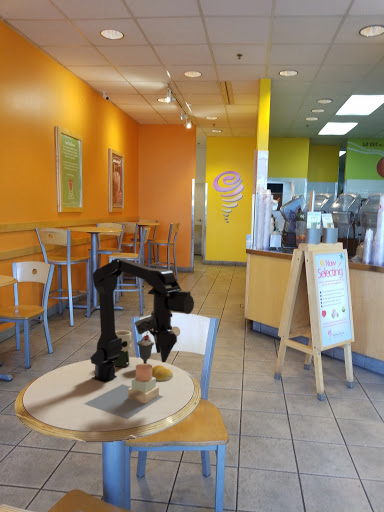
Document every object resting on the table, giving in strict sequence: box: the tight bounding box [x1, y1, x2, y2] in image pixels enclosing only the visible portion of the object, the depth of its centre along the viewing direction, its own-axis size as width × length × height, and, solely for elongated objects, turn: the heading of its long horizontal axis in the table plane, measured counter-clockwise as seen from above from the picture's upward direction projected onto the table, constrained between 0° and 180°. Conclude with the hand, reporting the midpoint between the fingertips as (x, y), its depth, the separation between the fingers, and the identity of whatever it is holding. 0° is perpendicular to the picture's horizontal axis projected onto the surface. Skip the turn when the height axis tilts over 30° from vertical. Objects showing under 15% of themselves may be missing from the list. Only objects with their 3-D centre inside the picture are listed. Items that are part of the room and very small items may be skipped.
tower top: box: [131, 377, 157, 393], centre depth 129 cm, size 6×6×3 cm
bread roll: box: [152, 365, 174, 382], centre depth 148 cm, size 8×9×4 cm
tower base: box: [128, 385, 160, 404], centre depth 130 cm, size 7×7×3 cm
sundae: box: [136, 331, 155, 364], centre depth 155 cm, size 7×7×15 cm
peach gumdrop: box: [135, 363, 153, 382], centre depth 129 cm, size 5×5×4 cm
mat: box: [83, 384, 164, 420], centre depth 127 cm, size 17×18×1 cm
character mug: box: [113, 329, 132, 367], centre depth 158 cm, size 11×7×13 cm, turn 149°
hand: (160, 357), depth 130 cm, fingers open, 9 cm apart
